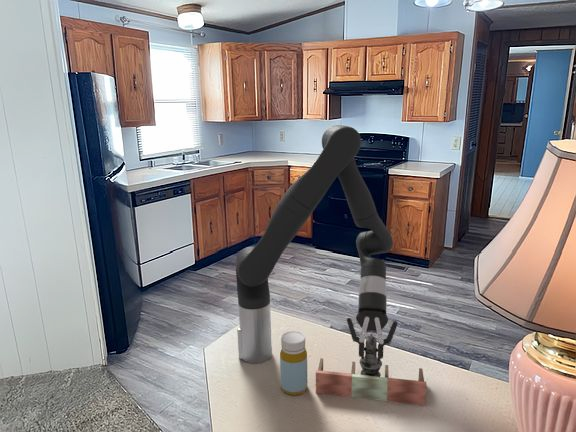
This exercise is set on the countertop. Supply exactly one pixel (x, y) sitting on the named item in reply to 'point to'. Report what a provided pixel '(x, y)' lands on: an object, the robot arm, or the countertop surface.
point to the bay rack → (371, 386)
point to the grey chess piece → (370, 358)
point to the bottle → (293, 363)
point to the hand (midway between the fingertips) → (370, 359)
